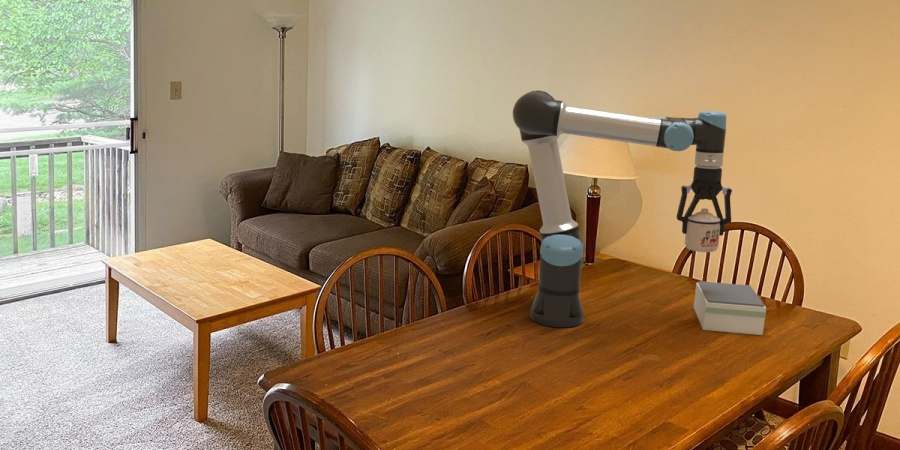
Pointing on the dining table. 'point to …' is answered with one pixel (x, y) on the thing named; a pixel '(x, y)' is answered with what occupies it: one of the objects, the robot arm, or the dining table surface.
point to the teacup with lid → (702, 232)
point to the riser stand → (729, 308)
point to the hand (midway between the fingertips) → (701, 245)
